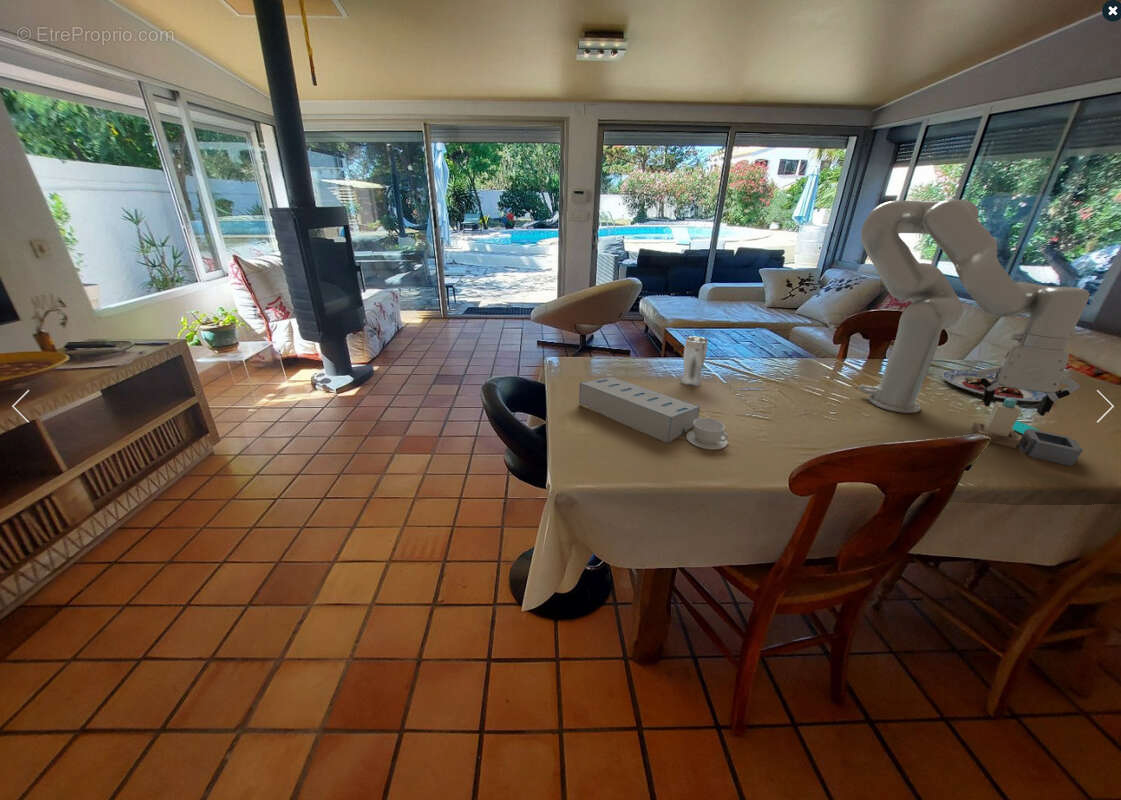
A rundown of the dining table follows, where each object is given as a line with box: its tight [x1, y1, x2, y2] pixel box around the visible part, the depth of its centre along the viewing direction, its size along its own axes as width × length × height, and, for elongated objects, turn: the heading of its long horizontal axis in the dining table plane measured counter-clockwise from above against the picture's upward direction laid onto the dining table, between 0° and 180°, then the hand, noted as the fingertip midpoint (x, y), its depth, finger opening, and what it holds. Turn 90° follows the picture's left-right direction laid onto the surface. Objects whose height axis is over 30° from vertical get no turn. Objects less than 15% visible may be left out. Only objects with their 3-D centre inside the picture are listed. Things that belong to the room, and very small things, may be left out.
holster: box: [971, 420, 1020, 449], centre depth 108 cm, size 8×8×2 cm
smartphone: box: [1012, 419, 1042, 437], centre depth 111 cm, size 7×1×15 cm
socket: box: [1018, 428, 1084, 467], centre depth 101 cm, size 8×8×4 cm
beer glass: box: [680, 336, 709, 387], centre depth 137 cm, size 7×7×15 cm
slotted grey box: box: [578, 376, 701, 444], centre depth 117 cm, size 30×14×8 cm, turn 45°
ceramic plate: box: [941, 369, 1047, 402], centre depth 138 cm, size 26×26×3 cm
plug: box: [982, 399, 1022, 437], centre depth 107 cm, size 4×4×11 cm
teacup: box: [685, 417, 729, 450], centre depth 105 cm, size 10×10×5 cm
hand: (1012, 409), depth 105 cm, fingers open, 9 cm apart
